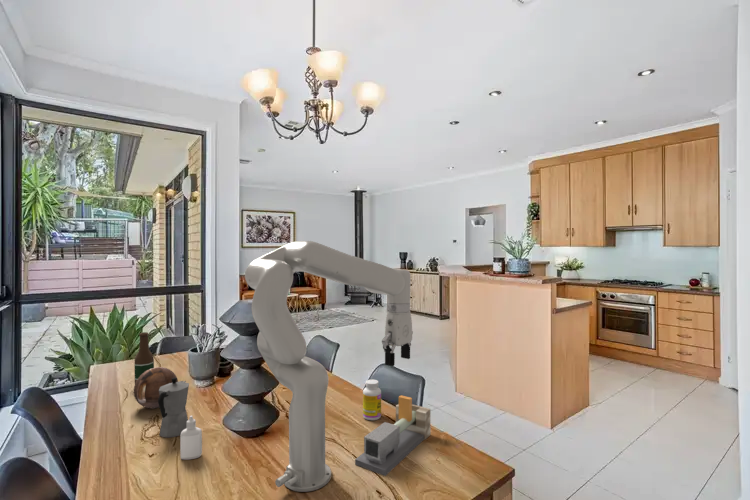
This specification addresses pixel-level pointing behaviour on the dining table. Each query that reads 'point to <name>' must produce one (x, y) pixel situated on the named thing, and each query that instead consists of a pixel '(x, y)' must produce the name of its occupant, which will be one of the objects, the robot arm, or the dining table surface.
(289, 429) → the robot arm
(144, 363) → the beer bottle
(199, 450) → the eye dropper bottle
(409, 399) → the orange upright peg
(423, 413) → the socket block
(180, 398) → the coffeepot
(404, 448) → the base board
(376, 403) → the supplement bottle
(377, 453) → the sleeve
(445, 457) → the dining table surface
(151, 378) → the wooden sphere
